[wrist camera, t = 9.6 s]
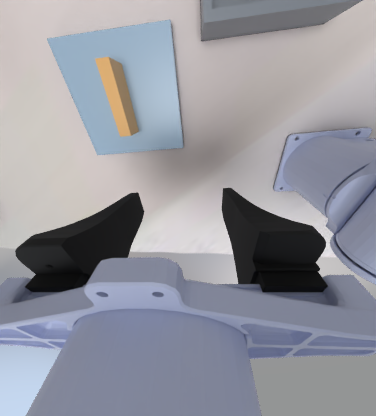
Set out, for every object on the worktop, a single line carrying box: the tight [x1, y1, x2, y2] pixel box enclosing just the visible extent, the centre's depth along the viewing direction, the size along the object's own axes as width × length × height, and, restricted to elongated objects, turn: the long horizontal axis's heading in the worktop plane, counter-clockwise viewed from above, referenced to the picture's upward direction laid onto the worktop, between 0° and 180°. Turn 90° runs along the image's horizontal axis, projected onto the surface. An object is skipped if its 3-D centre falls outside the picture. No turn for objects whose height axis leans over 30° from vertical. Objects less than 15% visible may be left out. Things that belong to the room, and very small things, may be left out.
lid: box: [47, 20, 184, 155], centre depth 16 cm, size 12×11×4 cm
